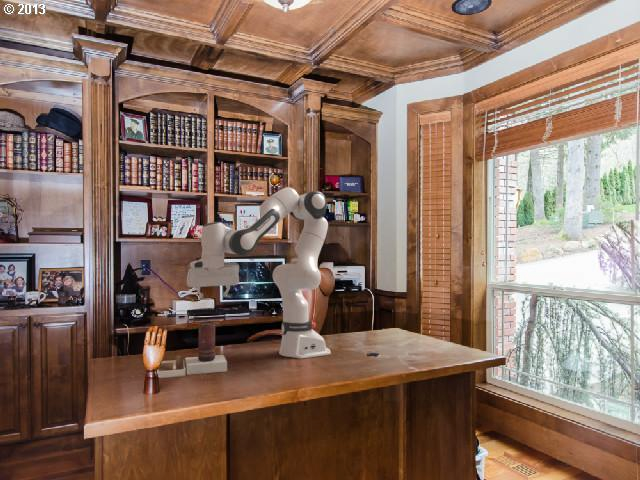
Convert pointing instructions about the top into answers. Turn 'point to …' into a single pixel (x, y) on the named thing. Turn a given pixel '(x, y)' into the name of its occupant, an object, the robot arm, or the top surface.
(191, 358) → the white holder base
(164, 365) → the tile
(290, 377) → the top surface
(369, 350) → the top surface
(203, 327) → the can
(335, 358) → the top surface
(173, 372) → the tray
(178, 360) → the tile
